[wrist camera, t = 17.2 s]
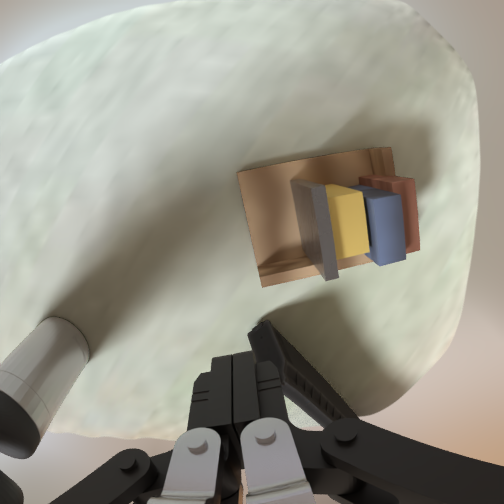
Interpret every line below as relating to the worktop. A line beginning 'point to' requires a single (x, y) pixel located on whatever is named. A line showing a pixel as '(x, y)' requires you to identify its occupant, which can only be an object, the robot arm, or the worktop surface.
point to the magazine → (298, 376)
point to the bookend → (315, 226)
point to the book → (347, 221)
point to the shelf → (328, 172)
